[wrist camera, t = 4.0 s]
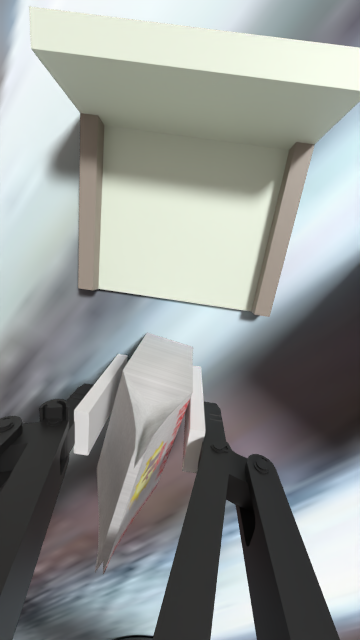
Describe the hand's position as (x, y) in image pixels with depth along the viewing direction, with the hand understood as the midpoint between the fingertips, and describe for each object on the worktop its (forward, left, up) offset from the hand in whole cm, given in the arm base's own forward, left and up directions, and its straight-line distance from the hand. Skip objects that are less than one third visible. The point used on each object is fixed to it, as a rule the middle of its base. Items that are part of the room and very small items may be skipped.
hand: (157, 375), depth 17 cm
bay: (+12, 0, 0) cm, 12 cm away
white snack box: (0, 0, -1) cm, 1 cm away
